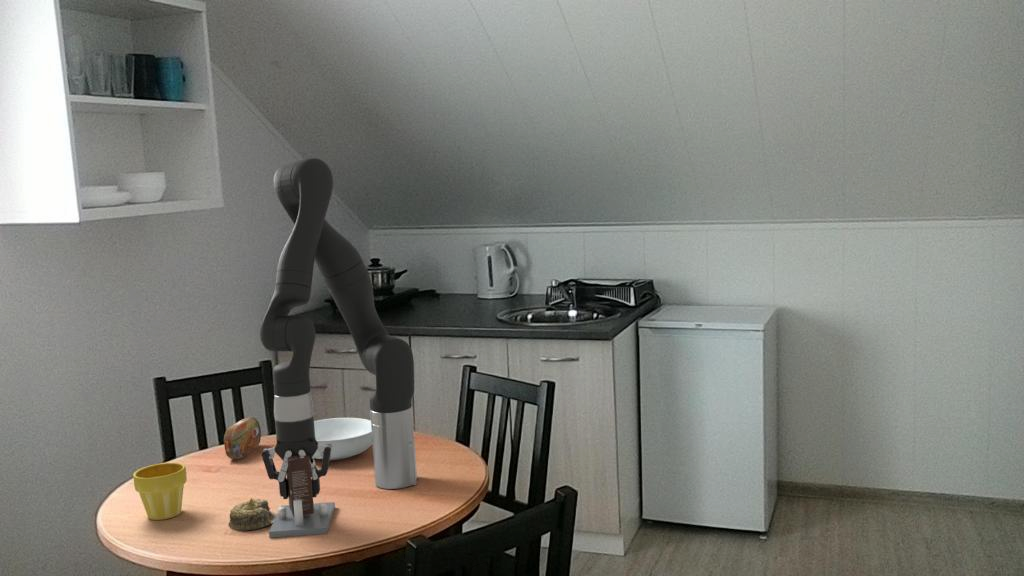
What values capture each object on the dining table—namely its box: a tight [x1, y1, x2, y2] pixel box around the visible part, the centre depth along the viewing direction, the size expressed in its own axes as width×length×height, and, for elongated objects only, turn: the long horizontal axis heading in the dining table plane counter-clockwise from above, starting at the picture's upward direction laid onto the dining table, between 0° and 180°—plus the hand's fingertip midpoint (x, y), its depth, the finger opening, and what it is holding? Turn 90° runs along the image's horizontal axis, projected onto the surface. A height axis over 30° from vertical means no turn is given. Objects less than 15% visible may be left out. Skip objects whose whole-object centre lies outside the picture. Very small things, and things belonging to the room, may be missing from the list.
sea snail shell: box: [228, 497, 278, 532], centre depth 189 cm, size 10×10×5 cm
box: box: [286, 455, 314, 517], centre depth 187 cm, size 6×4×12 cm
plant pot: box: [132, 461, 188, 521], centre depth 195 cm, size 10×10×10 cm
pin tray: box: [268, 499, 336, 538], centre depth 187 cm, size 11×14×6 cm
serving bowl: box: [313, 417, 373, 461], centre depth 231 cm, size 21×21×7 cm
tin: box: [223, 416, 262, 460], centre depth 235 cm, size 15×3×8 cm, turn 168°
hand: (300, 496), depth 187 cm, fingers closed on box, 5 cm apart
